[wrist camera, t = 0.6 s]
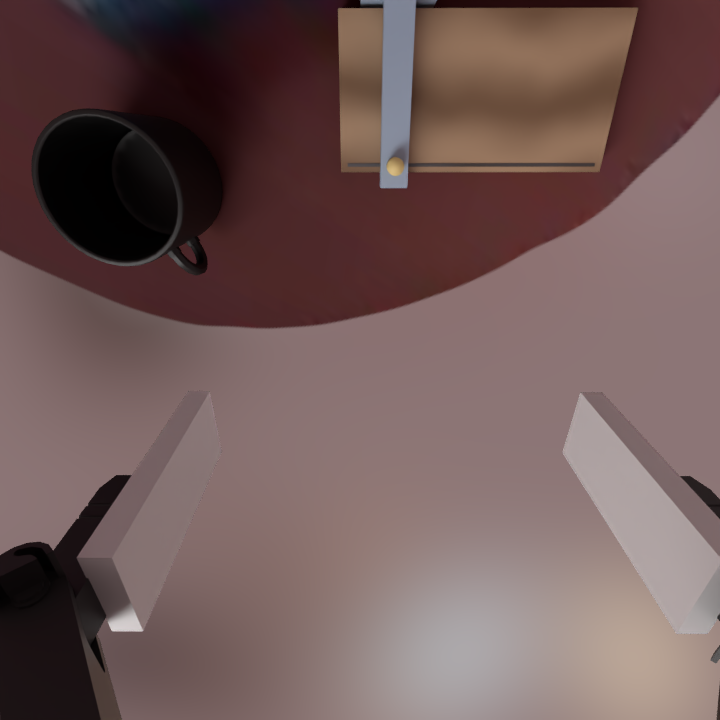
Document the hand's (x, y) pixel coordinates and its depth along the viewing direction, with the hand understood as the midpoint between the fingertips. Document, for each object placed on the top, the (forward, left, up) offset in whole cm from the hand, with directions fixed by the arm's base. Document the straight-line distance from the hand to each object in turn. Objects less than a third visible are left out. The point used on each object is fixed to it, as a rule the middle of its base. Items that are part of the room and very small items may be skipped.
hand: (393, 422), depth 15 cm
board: (-12, +7, -25) cm, 29 cm away
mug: (-5, -17, -25) cm, 31 cm away
